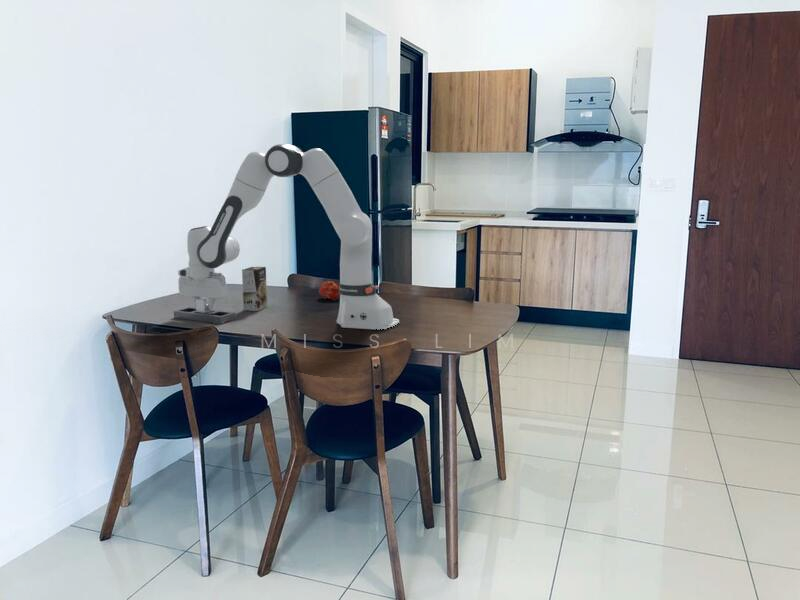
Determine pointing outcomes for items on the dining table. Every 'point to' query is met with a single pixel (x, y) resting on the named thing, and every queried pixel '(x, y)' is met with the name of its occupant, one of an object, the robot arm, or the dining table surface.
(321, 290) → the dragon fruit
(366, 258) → the robot arm
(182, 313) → the grey compartment tray
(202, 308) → the nut block
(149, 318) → the dining table surface
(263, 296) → the coffee box
